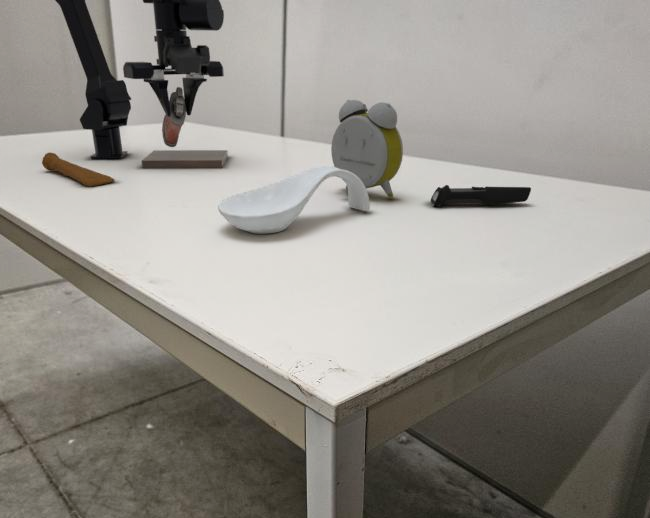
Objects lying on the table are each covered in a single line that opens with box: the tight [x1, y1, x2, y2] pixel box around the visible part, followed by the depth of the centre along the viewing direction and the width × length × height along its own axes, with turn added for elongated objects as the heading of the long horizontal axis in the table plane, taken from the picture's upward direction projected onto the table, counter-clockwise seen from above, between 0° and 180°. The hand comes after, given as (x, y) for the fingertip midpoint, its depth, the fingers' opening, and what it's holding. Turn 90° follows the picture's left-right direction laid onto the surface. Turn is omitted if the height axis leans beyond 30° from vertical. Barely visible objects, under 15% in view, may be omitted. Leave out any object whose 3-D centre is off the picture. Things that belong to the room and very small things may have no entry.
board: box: [141, 149, 229, 169], centre depth 129 cm, size 12×16×2 cm
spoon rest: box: [217, 165, 371, 235], centre depth 88 cm, size 24×12×7 cm, turn 127°
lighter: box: [161, 86, 187, 148], centre depth 126 cm, size 8×3×10 cm
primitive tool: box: [41, 152, 115, 187], centre depth 115 cm, size 19×6×4 cm, turn 51°
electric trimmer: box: [430, 184, 532, 208], centre depth 98 cm, size 4×16×3 cm, turn 92°
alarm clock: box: [330, 99, 404, 200], centre depth 100 cm, size 12×7×15 cm, turn 47°
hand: (178, 115), depth 124 cm, fingers closed on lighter, 4 cm apart
